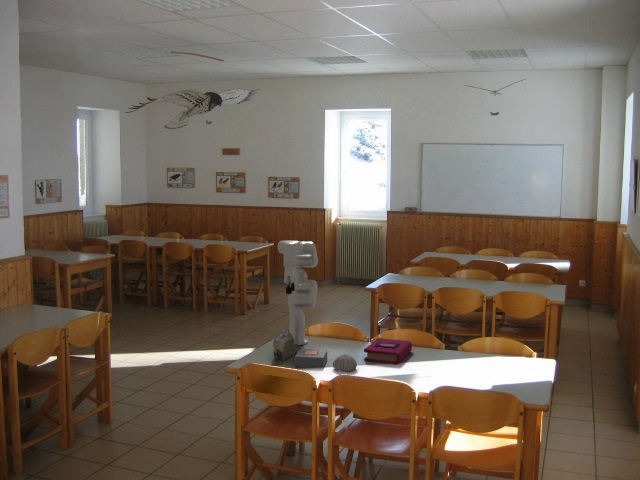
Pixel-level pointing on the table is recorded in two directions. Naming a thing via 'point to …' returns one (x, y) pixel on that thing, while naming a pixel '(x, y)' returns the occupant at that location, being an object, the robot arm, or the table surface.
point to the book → (387, 351)
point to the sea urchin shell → (344, 363)
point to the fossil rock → (284, 345)
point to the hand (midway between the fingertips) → (290, 292)
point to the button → (311, 353)
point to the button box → (311, 358)
